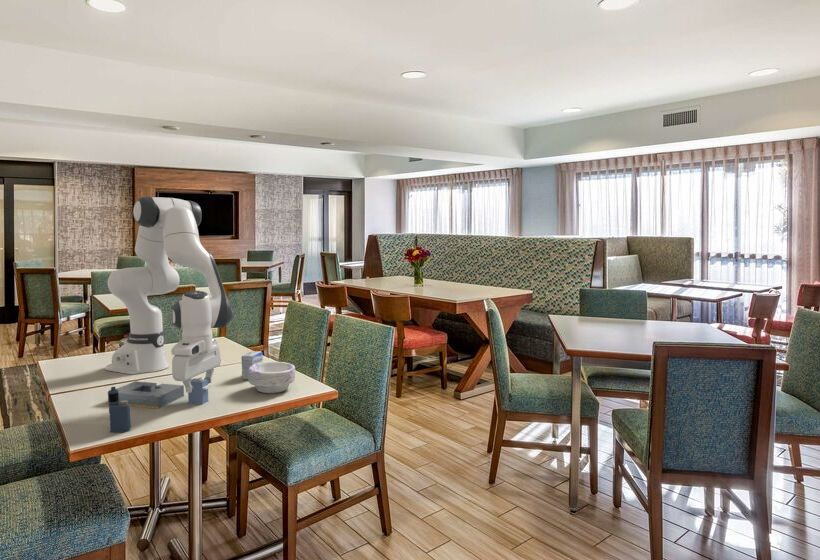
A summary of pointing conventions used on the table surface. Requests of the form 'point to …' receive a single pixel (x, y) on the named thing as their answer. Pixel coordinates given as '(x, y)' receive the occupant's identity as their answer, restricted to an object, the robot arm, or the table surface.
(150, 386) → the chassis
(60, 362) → the table surface
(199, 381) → the servo block
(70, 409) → the table surface
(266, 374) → the paper bowls
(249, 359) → the medicine box
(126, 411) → the vaping device
